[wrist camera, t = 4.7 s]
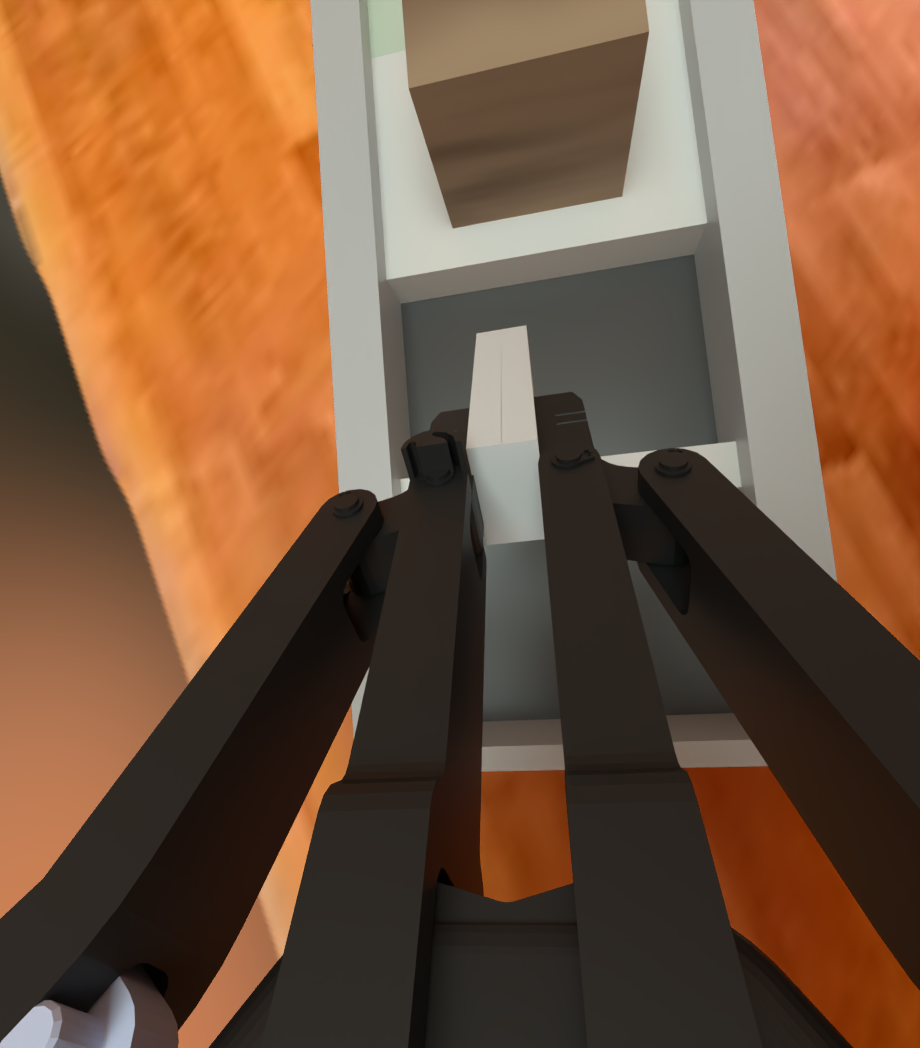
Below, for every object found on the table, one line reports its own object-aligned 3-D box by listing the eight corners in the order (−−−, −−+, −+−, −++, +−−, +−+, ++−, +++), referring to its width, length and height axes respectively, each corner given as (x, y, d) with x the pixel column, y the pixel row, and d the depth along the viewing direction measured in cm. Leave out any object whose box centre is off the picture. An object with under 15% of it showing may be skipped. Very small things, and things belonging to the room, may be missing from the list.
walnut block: (622, 196, 26) (649, 31, 18) (452, 228, 27) (408, 88, 19) (604, 39, 26) (622, -185, 19) (440, 78, 28) (392, -116, 20)
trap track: (810, 730, 25) (904, 790, 18) (387, 742, 28) (332, 797, 22) (680, -221, 30) (716, -456, 23) (332, -114, 33) (273, -291, 26)
